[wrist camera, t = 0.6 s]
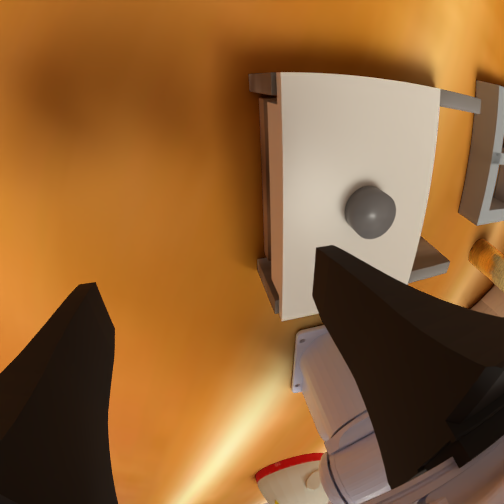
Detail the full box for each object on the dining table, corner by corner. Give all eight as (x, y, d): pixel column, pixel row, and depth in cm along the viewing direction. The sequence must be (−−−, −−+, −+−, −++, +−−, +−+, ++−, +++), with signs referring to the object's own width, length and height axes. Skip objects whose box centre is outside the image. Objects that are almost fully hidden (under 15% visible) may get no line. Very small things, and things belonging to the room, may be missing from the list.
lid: (388, 273, 21) (413, 300, 18) (271, 297, 19) (286, 333, 17) (414, 84, 14) (454, 91, 11) (266, 72, 12) (288, 71, 10)
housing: (414, 243, 24) (446, 272, 20) (257, 271, 22) (275, 313, 18) (436, 88, 17) (481, 99, 13) (248, 74, 15) (270, 72, 11)
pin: (481, 260, 28) (515, 291, 23) (465, 265, 27) (501, 298, 22) (488, 236, 26) (526, 267, 21) (473, 240, 26) (512, 273, 21)
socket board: (497, 207, 24) (513, 218, 22) (458, 212, 23) (476, 225, 21) (515, 95, 18) (534, 101, 16) (476, 80, 17) (499, 85, 15)
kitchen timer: (282, 454, 42) (308, 534, 29) (341, 449, 48) (369, 514, 35) (242, 481, 47) (259, 548, 35) (298, 477, 53) (318, 534, 40)
